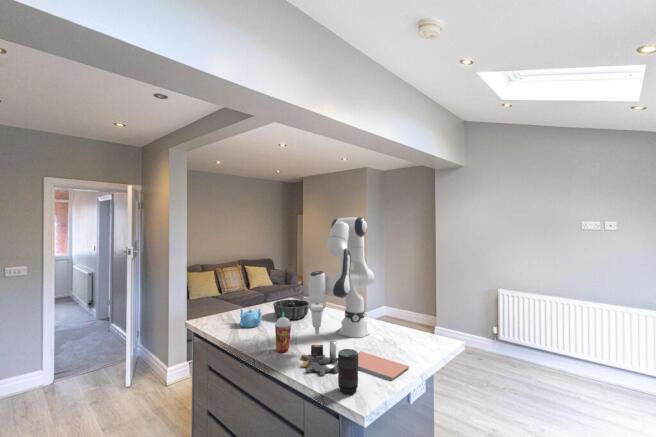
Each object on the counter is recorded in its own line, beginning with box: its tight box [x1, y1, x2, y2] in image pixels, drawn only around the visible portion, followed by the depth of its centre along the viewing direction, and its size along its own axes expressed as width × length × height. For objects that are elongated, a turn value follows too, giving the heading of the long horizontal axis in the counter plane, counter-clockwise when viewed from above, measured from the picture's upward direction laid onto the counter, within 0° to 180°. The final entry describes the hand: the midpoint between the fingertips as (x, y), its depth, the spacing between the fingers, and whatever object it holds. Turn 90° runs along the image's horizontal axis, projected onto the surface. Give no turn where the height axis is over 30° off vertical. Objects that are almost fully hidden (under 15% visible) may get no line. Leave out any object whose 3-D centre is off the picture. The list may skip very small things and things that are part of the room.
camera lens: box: [337, 348, 359, 396], centre depth 129 cm, size 8×8×15 cm
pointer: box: [300, 353, 311, 362], centre depth 159 cm, size 4×2×2 cm, turn 46°
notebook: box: [357, 351, 410, 381], centre depth 152 cm, size 27×17×2 cm, turn 50°
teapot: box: [239, 307, 263, 329], centre depth 212 cm, size 15×15×10 cm
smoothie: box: [274, 312, 292, 354], centre depth 169 cm, size 8×8×20 cm
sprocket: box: [302, 340, 339, 376], centre depth 151 cm, size 18×18×10 cm
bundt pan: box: [272, 299, 310, 321], centre depth 234 cm, size 26×26×10 cm
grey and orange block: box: [310, 344, 324, 358], centre depth 163 cm, size 3×6×5 cm, turn 91°
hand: (317, 331), depth 163 cm, fingers open, 8 cm apart
